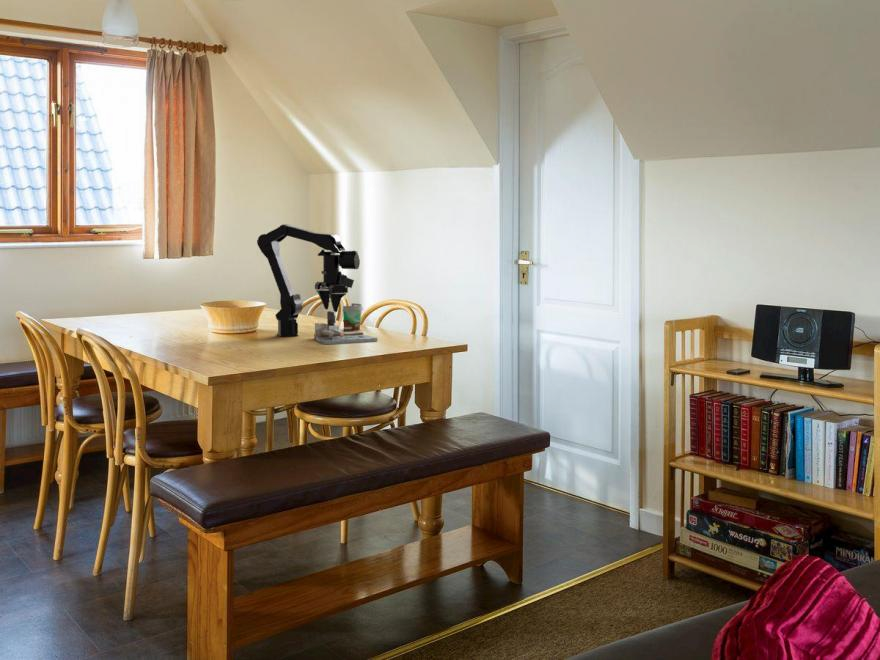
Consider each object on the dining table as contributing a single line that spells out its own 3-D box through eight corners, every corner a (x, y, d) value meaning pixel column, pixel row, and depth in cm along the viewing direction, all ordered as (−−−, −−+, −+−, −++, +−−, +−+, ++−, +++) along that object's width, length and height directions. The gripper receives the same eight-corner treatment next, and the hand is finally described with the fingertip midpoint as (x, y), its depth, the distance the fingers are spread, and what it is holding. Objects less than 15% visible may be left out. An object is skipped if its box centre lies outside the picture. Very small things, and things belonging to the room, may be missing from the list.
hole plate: (325, 344, 321) (325, 340, 321) (315, 340, 330) (315, 337, 330) (377, 341, 330) (377, 337, 330) (366, 337, 339) (366, 334, 339)
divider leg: (336, 337, 328) (336, 314, 326) (323, 333, 339) (323, 311, 338) (347, 336, 329) (347, 314, 328) (333, 332, 341) (333, 310, 340)
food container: (357, 332, 355) (357, 306, 354) (342, 331, 356) (342, 306, 355) (366, 328, 367) (366, 303, 366) (352, 327, 368) (351, 303, 367)
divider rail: (326, 342, 326) (326, 327, 325) (313, 337, 337) (313, 323, 337) (372, 339, 334) (372, 324, 334) (358, 335, 346) (358, 320, 345)
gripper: (361, 269, 330) (361, 312, 332) (341, 266, 347) (341, 307, 349) (332, 270, 325) (332, 313, 327) (314, 267, 341) (314, 308, 343)
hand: (331, 310), depth 337 cm, fingers open, 9 cm apart
